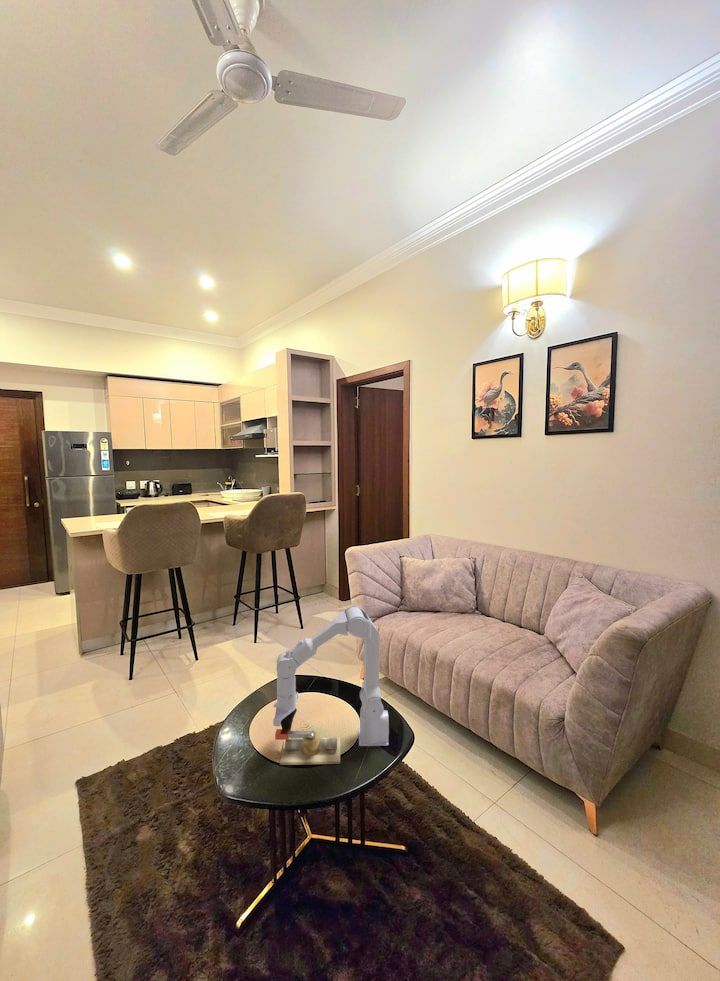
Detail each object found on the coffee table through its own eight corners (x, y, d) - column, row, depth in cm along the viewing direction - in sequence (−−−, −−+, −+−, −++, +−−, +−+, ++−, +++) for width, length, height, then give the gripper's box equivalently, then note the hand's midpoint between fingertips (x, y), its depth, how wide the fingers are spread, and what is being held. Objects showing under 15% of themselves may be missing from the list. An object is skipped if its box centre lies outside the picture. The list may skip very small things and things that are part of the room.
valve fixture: (340, 739, 130) (340, 726, 130) (340, 763, 120) (340, 748, 120) (284, 740, 129) (284, 726, 129) (279, 764, 119) (279, 749, 119)
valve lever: (315, 734, 125) (315, 729, 125) (314, 739, 123) (314, 734, 123) (276, 734, 125) (276, 729, 125) (275, 739, 123) (275, 734, 123)
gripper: (284, 677, 133) (284, 715, 134) (263, 704, 119) (264, 746, 120) (304, 680, 131) (304, 719, 133) (285, 707, 117) (286, 750, 119)
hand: (286, 732), depth 126 cm, fingers closed
